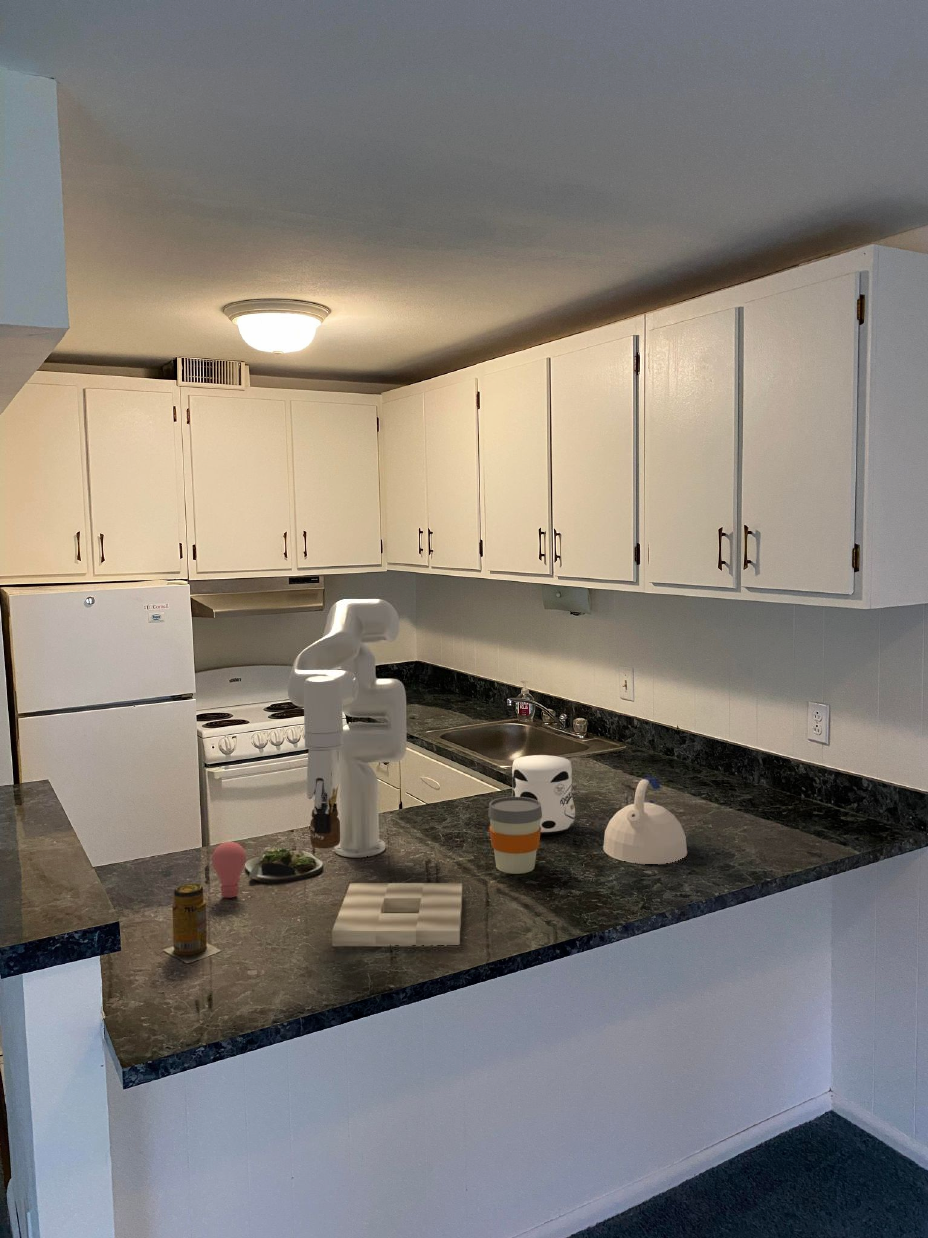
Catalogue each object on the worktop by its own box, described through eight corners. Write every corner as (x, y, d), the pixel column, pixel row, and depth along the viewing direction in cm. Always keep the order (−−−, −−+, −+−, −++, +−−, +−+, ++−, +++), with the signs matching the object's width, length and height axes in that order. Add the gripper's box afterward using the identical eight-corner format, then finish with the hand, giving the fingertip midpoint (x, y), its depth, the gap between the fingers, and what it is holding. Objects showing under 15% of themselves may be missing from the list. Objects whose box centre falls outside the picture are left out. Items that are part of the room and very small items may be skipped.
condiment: (197, 938, 178) (195, 878, 177) (221, 951, 172) (219, 889, 171) (162, 951, 173) (160, 889, 171) (186, 965, 167) (184, 901, 166)
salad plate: (230, 863, 220) (230, 845, 219) (302, 850, 228) (301, 832, 228) (254, 890, 203) (253, 870, 202) (330, 875, 211) (330, 856, 211)
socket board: (350, 896, 198) (350, 883, 197) (462, 896, 197) (462, 883, 197) (332, 946, 174) (332, 931, 173) (459, 946, 173) (459, 931, 173)
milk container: (587, 834, 238) (587, 766, 236) (526, 843, 231) (526, 773, 230) (556, 816, 254) (556, 751, 252) (498, 823, 247) (498, 757, 246)
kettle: (590, 858, 221) (591, 784, 219) (618, 833, 239) (618, 764, 237) (674, 871, 211) (675, 794, 210) (696, 844, 230) (697, 773, 228)
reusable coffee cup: (551, 863, 217) (551, 800, 216) (527, 880, 206) (527, 815, 205) (504, 854, 223) (503, 793, 222) (478, 870, 213) (478, 807, 211)
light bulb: (233, 888, 203) (232, 835, 202) (254, 896, 199) (252, 841, 198) (206, 898, 198) (204, 843, 197) (226, 906, 193) (224, 850, 192)
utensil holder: (327, 837, 189) (325, 780, 187) (347, 844, 184) (346, 785, 183) (304, 844, 184) (302, 786, 183) (324, 851, 180) (323, 791, 179)
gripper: (314, 729, 191) (316, 814, 193) (295, 749, 174) (297, 842, 176) (350, 729, 191) (352, 814, 193) (334, 749, 174) (336, 842, 175)
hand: (326, 826), depth 184 cm, fingers closed on utensil holder, 5 cm apart
